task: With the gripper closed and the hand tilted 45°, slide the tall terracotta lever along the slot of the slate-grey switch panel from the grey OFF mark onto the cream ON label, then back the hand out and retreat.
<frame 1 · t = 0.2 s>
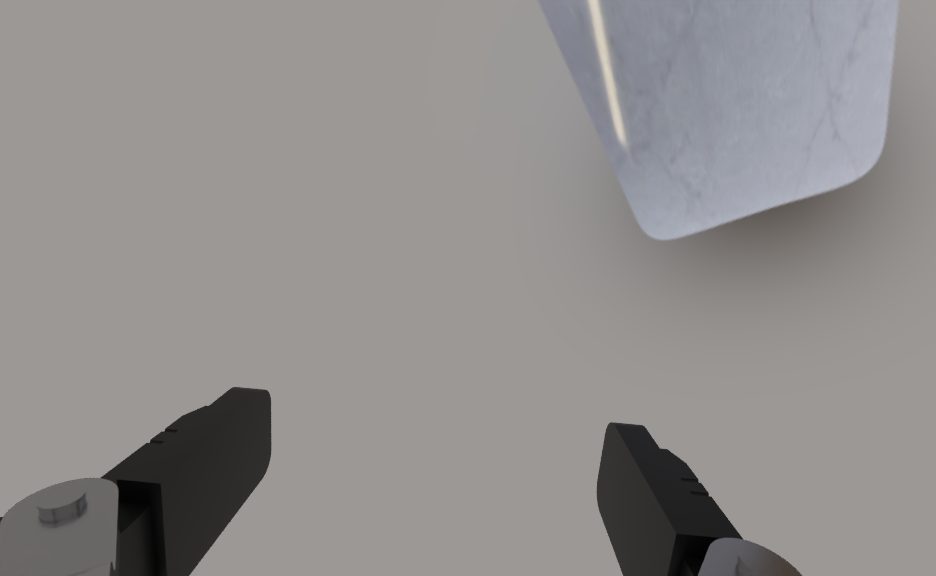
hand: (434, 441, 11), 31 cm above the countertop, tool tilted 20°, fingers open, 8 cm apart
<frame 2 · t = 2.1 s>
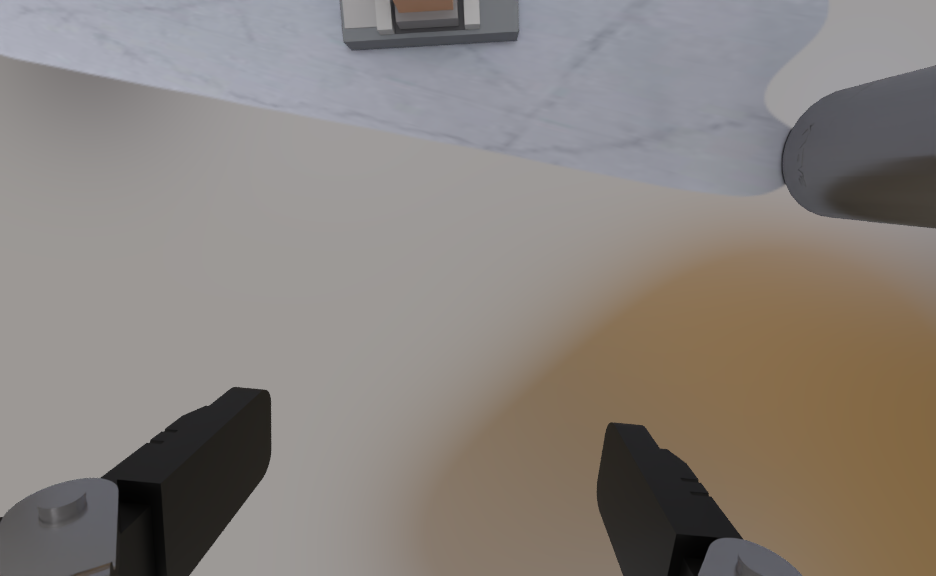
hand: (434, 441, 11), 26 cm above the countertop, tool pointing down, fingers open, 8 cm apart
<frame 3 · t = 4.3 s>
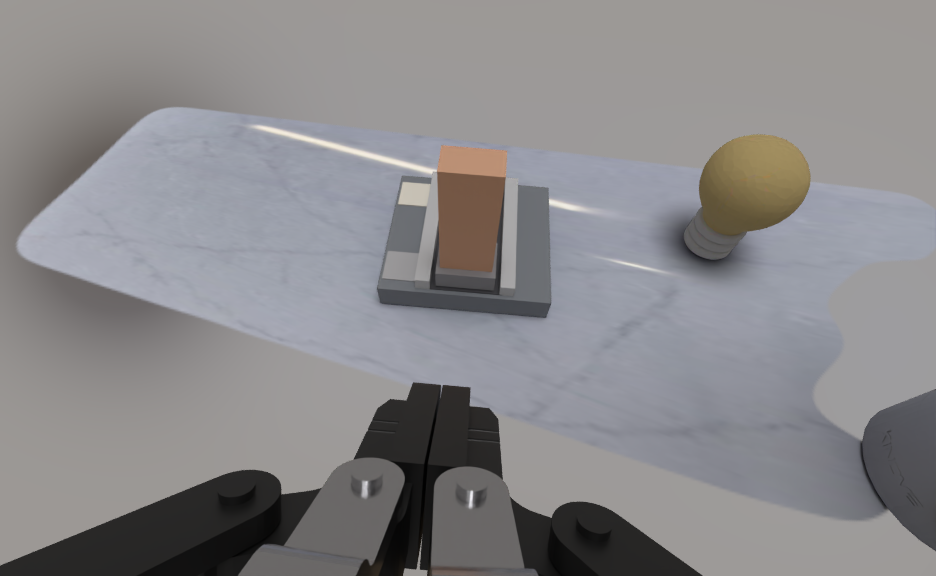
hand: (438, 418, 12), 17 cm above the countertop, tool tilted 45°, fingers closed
switch panel: (468, 249, 36), on the countertop
lever: (469, 223, 28), point 7 cm above the countertop, slide at 0.0 cm
light bulb: (702, 246, 37), on the countertop
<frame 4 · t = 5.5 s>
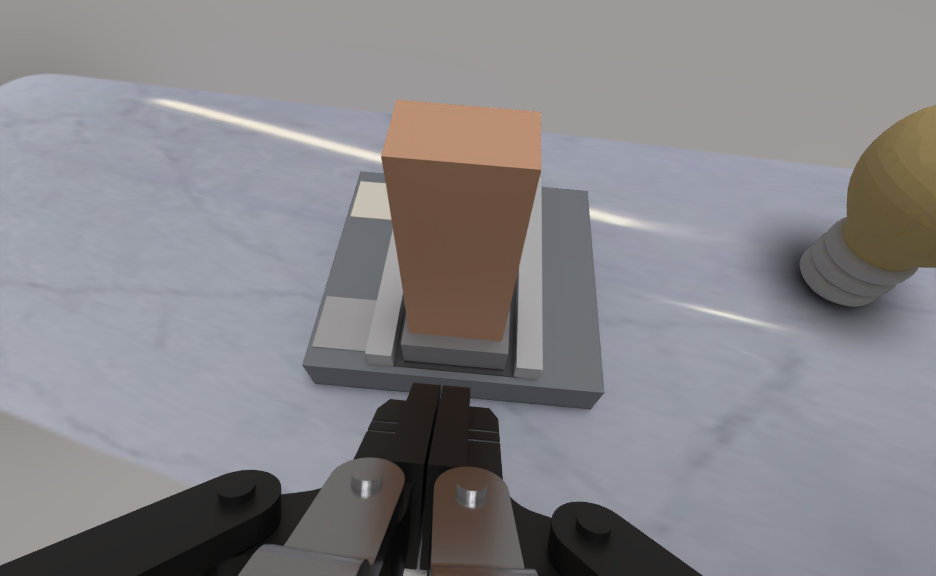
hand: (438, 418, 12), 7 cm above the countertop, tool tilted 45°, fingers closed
switch panel: (463, 289, 23), on the countertop
lever: (460, 260, 15), point 7 cm above the countertop, slide at 0.0 cm
light bulb: (826, 283, 24), on the countertop
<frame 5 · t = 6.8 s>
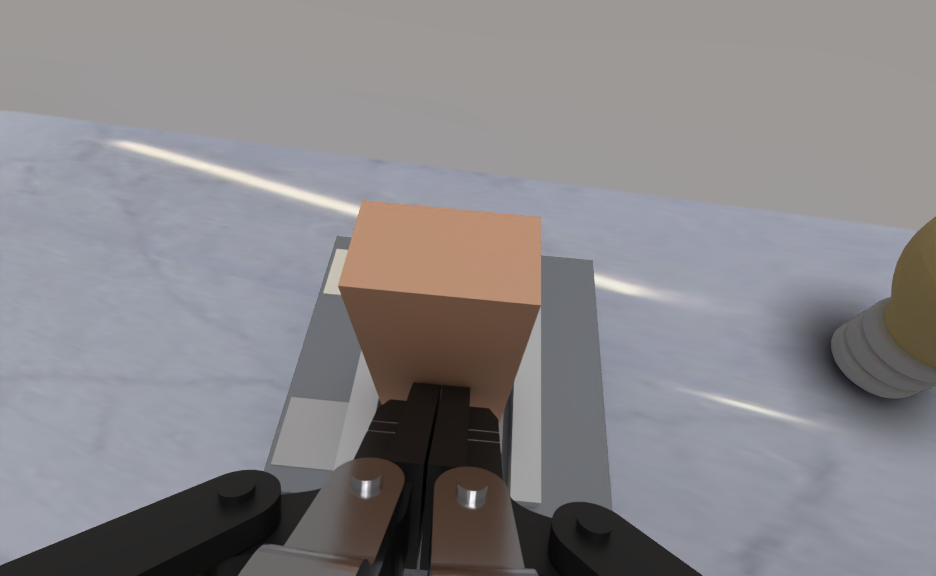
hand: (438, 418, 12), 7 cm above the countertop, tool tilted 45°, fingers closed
switch panel: (451, 375, 20), on the countertop
lever: (445, 359, 13), point 7 cm above the countertop, slide at 1.1 cm, touching gripper
light bulb: (860, 366, 21), on the countertop
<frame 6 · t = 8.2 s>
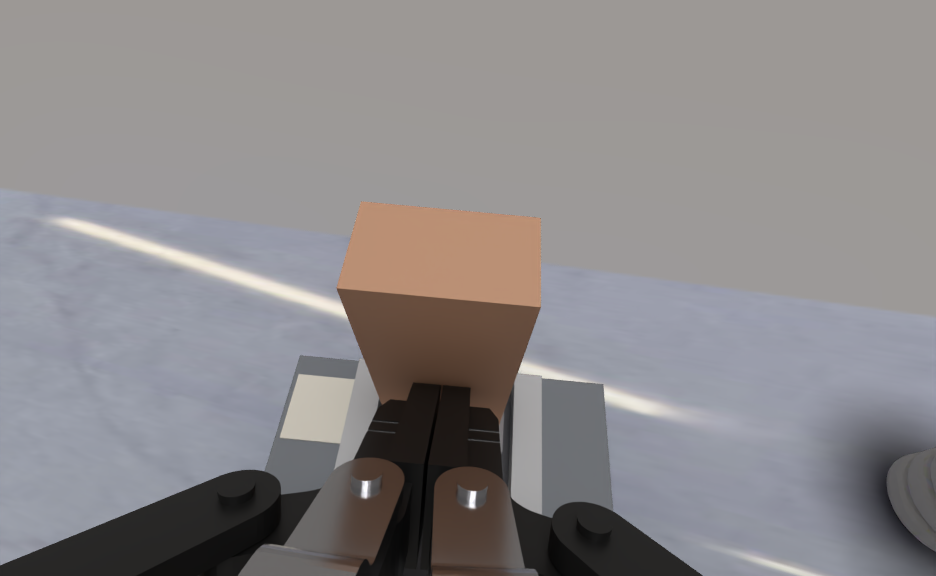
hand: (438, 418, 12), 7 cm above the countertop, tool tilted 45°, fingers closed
switch panel: (434, 531, 17), on the countertop
lever: (445, 359, 12), point 7 cm above the countertop, slide at 7.2 cm, touching gripper
light bulb: (921, 507, 18), on the countertop
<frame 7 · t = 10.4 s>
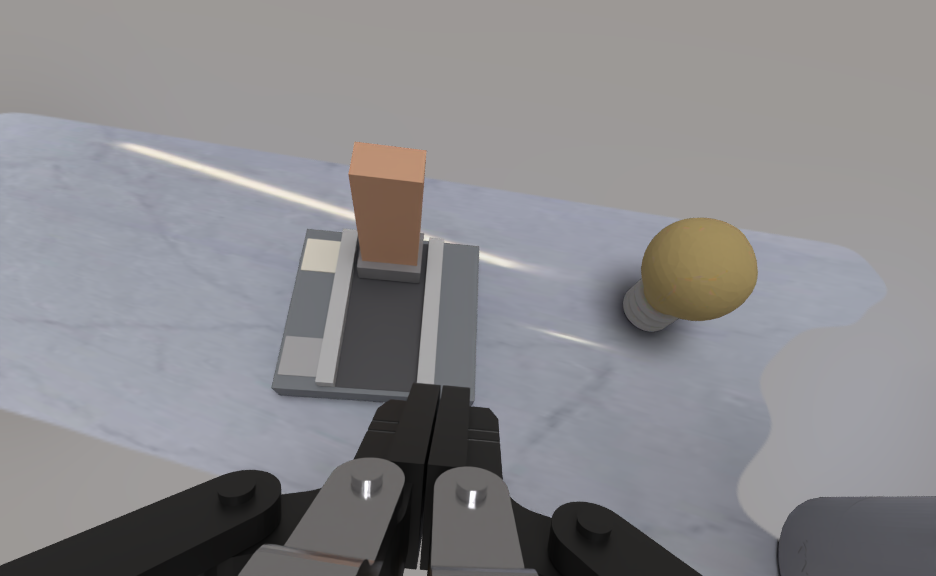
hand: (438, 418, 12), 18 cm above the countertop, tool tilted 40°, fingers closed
switch panel: (386, 320, 31), on the countertop
lever: (390, 219, 26), point 7 cm above the countertop, slide at 7.0 cm
light bulb: (641, 312, 35), on the countertop
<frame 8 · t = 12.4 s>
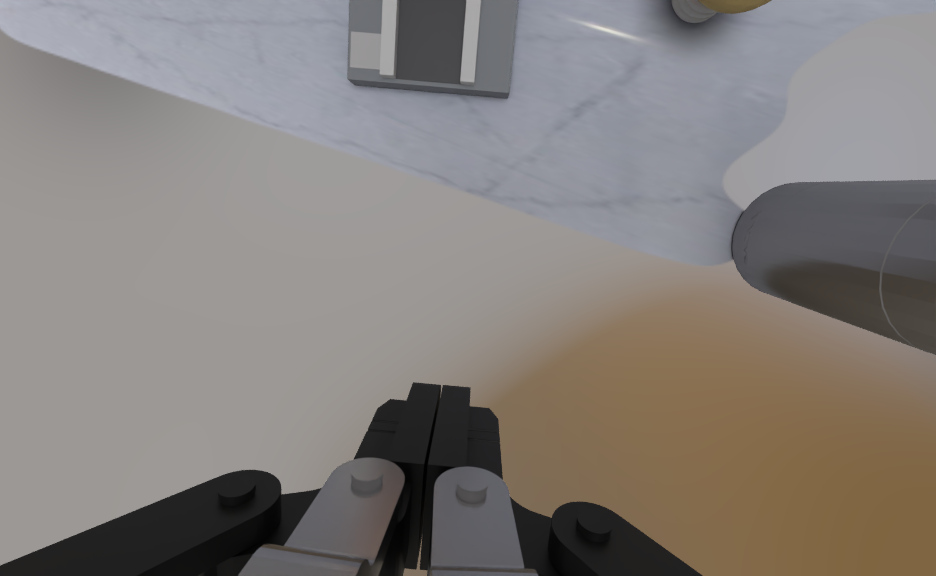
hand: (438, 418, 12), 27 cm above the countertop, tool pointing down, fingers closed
switch panel: (435, 14, 34), on the countertop
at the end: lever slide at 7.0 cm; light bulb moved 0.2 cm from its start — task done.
